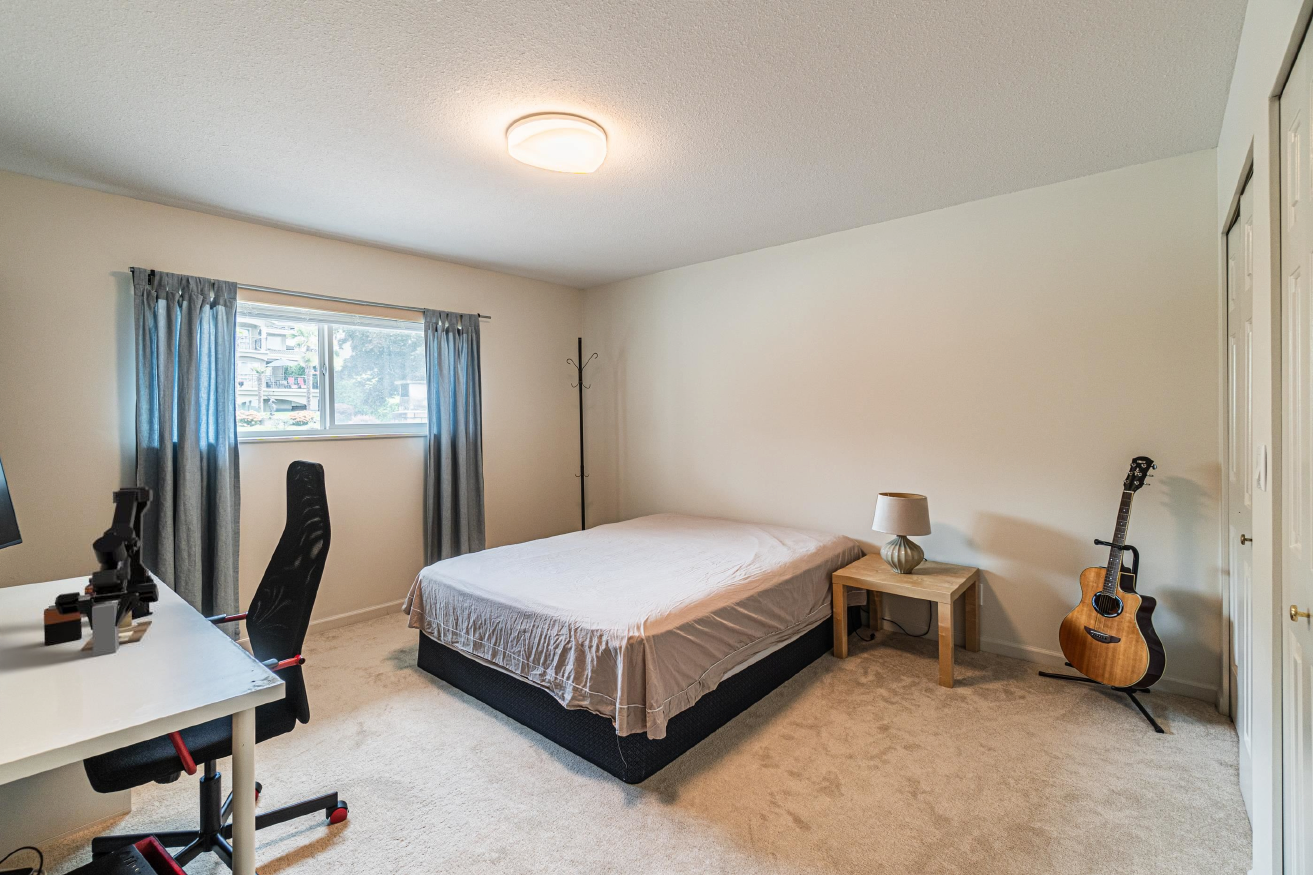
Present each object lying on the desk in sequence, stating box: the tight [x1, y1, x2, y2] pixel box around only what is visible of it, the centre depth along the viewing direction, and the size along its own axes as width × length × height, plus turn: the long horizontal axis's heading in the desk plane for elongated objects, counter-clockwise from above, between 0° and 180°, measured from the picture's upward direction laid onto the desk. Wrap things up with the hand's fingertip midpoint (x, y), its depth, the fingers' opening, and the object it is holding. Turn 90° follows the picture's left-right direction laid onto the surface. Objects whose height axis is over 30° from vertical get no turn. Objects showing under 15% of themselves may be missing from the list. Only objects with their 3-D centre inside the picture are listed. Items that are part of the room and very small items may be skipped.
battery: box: [43, 604, 83, 647], centre depth 150 cm, size 4×7×10 cm, turn 137°
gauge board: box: [80, 606, 153, 652], centre depth 153 cm, size 18×11×7 cm, turn 34°
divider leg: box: [92, 601, 120, 657], centre depth 141 cm, size 4×4×12 cm
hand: (104, 627), depth 140 cm, fingers closed on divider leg, 4 cm apart
